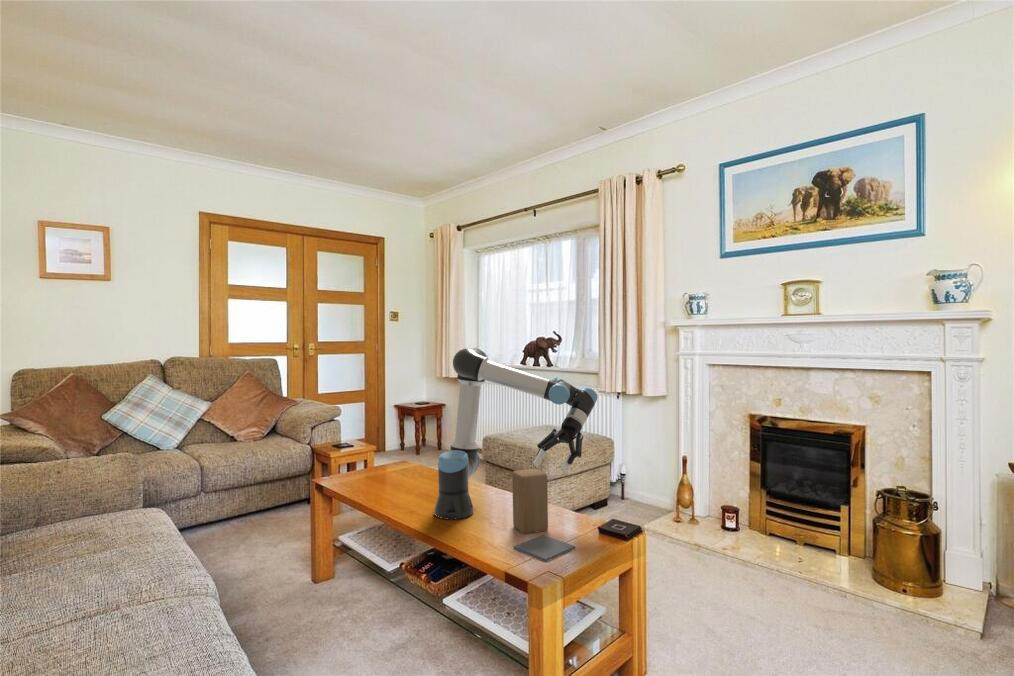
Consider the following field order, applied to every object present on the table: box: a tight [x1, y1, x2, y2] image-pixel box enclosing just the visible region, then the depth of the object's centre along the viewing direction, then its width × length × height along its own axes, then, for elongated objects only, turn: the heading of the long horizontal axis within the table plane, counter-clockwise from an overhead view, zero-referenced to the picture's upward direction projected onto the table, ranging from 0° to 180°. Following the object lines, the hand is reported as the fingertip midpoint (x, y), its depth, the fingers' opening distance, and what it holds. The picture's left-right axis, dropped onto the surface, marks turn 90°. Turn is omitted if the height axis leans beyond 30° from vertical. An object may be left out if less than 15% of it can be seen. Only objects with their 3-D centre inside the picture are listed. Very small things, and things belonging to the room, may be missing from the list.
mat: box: [513, 534, 576, 562], centre depth 163 cm, size 14×14×1 cm
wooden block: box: [511, 468, 549, 535], centre depth 181 cm, size 10×10×20 cm
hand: (548, 467), depth 188 cm, fingers open, 13 cm apart
